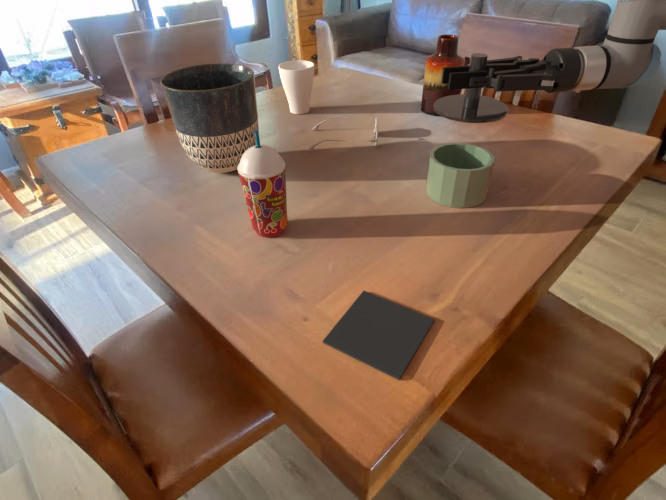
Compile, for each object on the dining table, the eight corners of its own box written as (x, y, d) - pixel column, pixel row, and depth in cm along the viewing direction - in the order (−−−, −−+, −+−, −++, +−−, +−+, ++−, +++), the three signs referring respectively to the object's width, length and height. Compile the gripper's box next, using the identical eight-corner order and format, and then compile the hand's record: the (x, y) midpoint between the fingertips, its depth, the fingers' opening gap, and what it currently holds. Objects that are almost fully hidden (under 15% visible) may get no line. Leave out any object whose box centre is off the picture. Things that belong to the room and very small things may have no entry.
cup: (290, 119, 126) (286, 72, 118) (277, 108, 134) (272, 63, 125) (322, 113, 130) (320, 66, 122) (308, 102, 137) (305, 58, 129)
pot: (493, 186, 93) (501, 150, 88) (475, 214, 85) (483, 176, 80) (438, 173, 99) (443, 138, 93) (416, 197, 90) (420, 161, 85)
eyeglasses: (377, 153, 108) (378, 138, 105) (306, 152, 109) (305, 138, 106) (376, 128, 120) (377, 114, 117) (312, 128, 121) (311, 115, 118)
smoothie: (282, 245, 79) (269, 144, 66) (241, 238, 81) (221, 139, 68) (298, 220, 85) (289, 123, 73) (259, 214, 87) (244, 119, 74)
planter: (260, 145, 113) (248, 59, 100) (272, 179, 98) (259, 84, 85) (184, 155, 109) (161, 68, 96) (185, 192, 95) (158, 95, 81)
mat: (434, 321, 63) (434, 319, 63) (399, 380, 56) (399, 378, 55) (363, 292, 69) (363, 290, 68) (322, 342, 61) (322, 340, 60)
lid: (515, 107, 82) (529, 50, 76) (495, 132, 73) (509, 70, 67) (447, 96, 88) (455, 42, 82) (421, 117, 79) (427, 59, 73)
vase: (415, 113, 128) (423, 39, 115) (427, 101, 135) (435, 30, 123) (451, 118, 124) (462, 42, 111) (461, 106, 131) (472, 33, 119)
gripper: (588, 105, 74) (458, 115, 72) (541, 78, 87) (429, 86, 85) (604, 59, 70) (466, 68, 68) (552, 38, 82) (434, 45, 80)
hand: (446, 78), depth 76 cm, fingers closed on lid, 3 cm apart
